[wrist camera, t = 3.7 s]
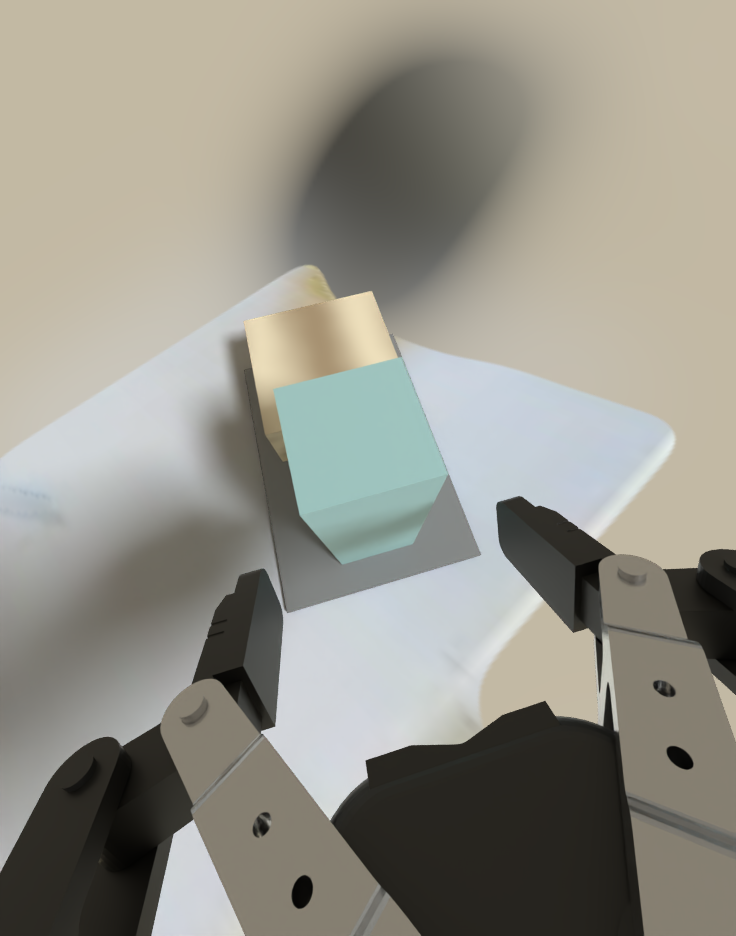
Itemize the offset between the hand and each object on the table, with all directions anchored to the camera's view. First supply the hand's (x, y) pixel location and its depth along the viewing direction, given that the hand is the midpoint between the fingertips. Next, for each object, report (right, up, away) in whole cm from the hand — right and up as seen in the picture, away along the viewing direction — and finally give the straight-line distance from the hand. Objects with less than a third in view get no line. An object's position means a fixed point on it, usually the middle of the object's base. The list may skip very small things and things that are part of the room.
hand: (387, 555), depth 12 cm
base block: (-3, +9, +14) cm, 17 cm away
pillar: (-1, 0, +10) cm, 10 cm away
